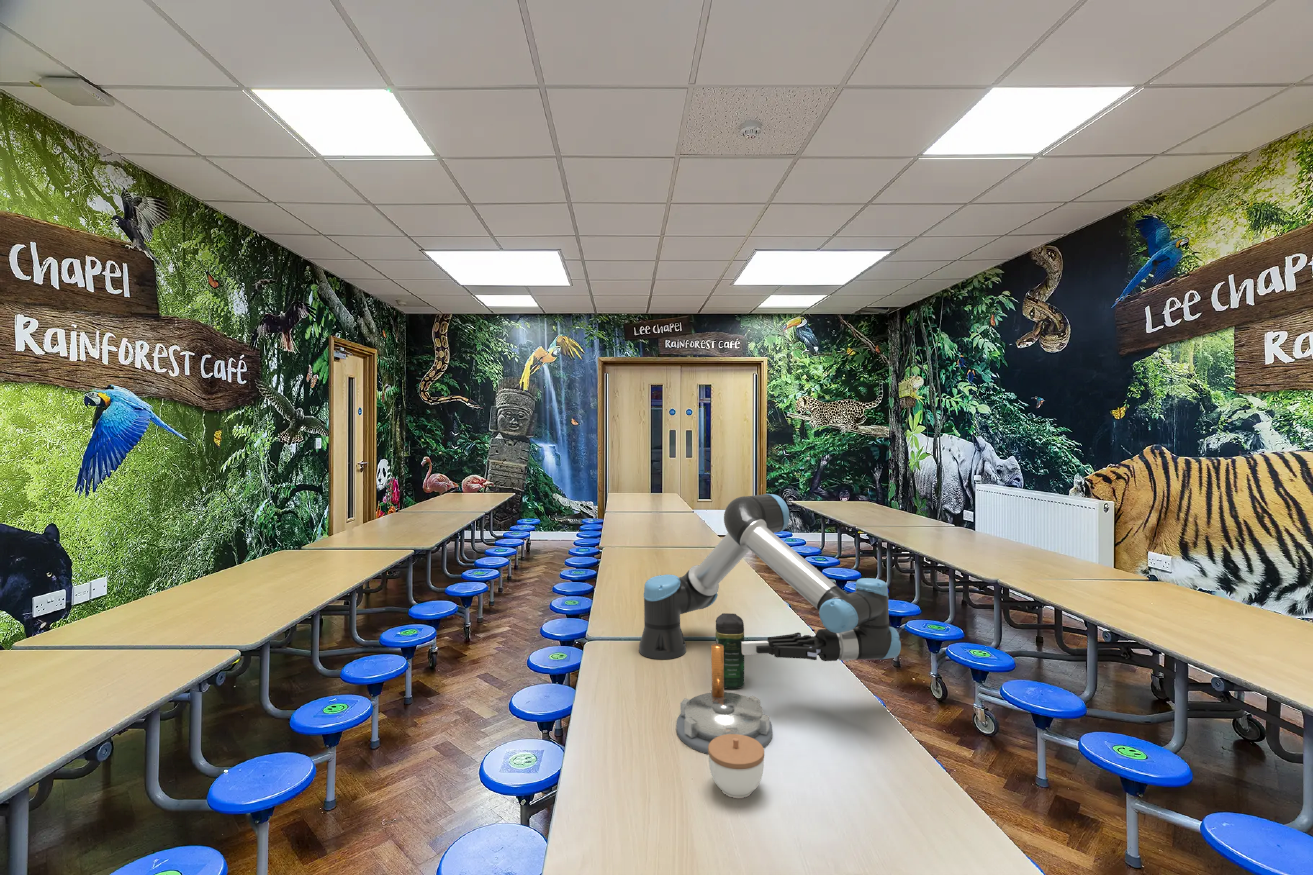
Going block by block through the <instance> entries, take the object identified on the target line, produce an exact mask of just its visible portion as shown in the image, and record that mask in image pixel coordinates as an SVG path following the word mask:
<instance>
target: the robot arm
mask: <svg viewBox="0 0 1313 875" xmlns="http://www.w3.org/2000/svg"><path fill="white" fill-rule="evenodd" d="M723 523H724V527H725V530H726V531H727V533H726V534H725V536H723V538H722V539H721V540H720V541H719V542H718V543H717V545H715V547H714V548H713V549H712V550H711V551H710V552H709V554H708V555H707V556H706V557H705V558H704V559H703V561H701V563H700V564H696V565H692V566H691V567H690V568H689V570H688V571H687V572H686V573H685V574H684V575H683V576H679V577H678V576H677V575H675V574H663V575H662V574H659V575H655V576H652V577H650V578H649V579H648V580H646V582H645V584H644V587H643V588H644V590H643V604H644V605H643V608H644V610H643V612H644V613H643V614H644V616H643V618H644V628H643V632H642V634H641V638H640V641H639V645H638V647H639V648H638V649H639V650H638V651H639V652H638V653H639V654H640V655H642V656H643V657H645V658H648V659H654V660H670V659H671V660H672V659H676V658H679V657H681V656H683V655H685V654H686V652H687V644H686V641H685V638H684V635H683V631H682V628H681V615H683V614H686V613H691V612H693V611H697V610H698V611H699V610H704V609H706V608H709V607H710V606H712V605H713V604H714V603H715V602H716V600H717V598H718V596H719V595H718V592H719V589H720V585H719V584H720V583H721V582H722V581H723V580H724V579H725V578H726V577H727V575H728V574H729V573H730V572H731V571H732V570H733V569H734V568H735V567H736V566H737V565H738V563H740V561H742V560H743V558H744V557H745V556H746V555H747V554H748V553H749V552H750V551H751V552H752V553H753V554H755V555H756V557H757V558H759V560H761V561H762V562H763V563H765V565H767V566H768V567H769V568H770V569H771V570H772V571H774V572H775V574H777V575H778V576H779V577H780V578H781V579H782V580H783V581H785V582H786V583H787V584H788V585H789V586H790V587H792V589H794V590H795V591H796V592H797V593H798V594H799V595H801V597H803V598H804V599H805V600H806V601H807V602H808V603H810V604H811V606H813V607H814V608H815V609H816V610H818V611H819V612H818V613H819V619H820V621H821V623H822V625H823V627H824V628H820V629H817V631H816V634H815V635H814V636H812V635H811V634H804V635H802V633H801V632H800V631H799V632H795V633H791V634H783V635H774V636H769V637H767V640H755V641H754V640H753V641H752V640H750V641H749V640H748V641H744V642H741V646H742V654H743V655H744V656H748V655H749V656H750V655H751V656H752V655H771V656H774V657H775V658H776V659H777V658H781V659H799V660H800V659H803V660H811V661H817V659H818V658H817V656H818V657H819V658H820V660H821V661H822V662H837V661H838V660H839V661H845V662H846V663H847V662H850V661H857V660H886V659H887V660H888V659H894V658H896V657H898V656H899V655H900V653H901V649H902V642H901V640H900V634H899V632H898V631H897V630H896V628H894V627H893V626H890V625H889V624H890V623H889V621H890V620H889V618H890V617H889V616H890V615H889V612H890V611H889V598H890V596H889V589H888V584H887V582H885V581H884V580H882V579H879V578H873V577H871V578H870V577H866V578H865V577H862V578H859V579H857V580H856V582H855V588H854V590H855V591H853V592H850V593H847V592H845V591H844V590H843V589H841V588H840V587H839V586H838V585H836V584H835V583H834V582H833V581H832V580H830V579H829V578H828V577H827V576H826V575H824V574H823V573H822V572H821V571H820V570H819V569H817V568H816V567H815V566H813V564H811V563H810V562H808V560H806V558H804V557H803V556H801V555H800V554H799V553H798V552H797V551H796V550H794V548H792V547H791V546H789V545H788V544H787V543H786V542H785V541H783V540H782V539H781V538H780V537H779V536H777V533H781V532H783V531H784V530H786V528H787V527H788V525H789V523H790V510H789V507H788V505H787V503H786V501H785V500H784V499H783V498H782V497H781V496H779V495H777V494H773V493H771V494H770V493H763V494H758V495H757V494H755V495H748V496H745V495H743V496H739V497H737V498H734V499H732V500H731V501H730V502H729V503H728V505H727V506H726V507H725V509H724V512H723ZM775 533H776V534H775Z"/></svg>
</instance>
